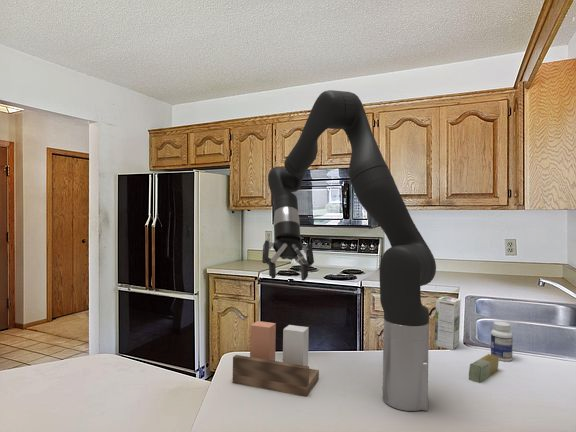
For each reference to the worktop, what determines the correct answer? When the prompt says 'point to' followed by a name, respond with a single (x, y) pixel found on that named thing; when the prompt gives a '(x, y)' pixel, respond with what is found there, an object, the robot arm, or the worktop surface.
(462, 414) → the worktop surface
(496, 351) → the pill bottle
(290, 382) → the console
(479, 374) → the medication box
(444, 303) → the syrup box
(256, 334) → the orange tall block
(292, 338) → the grey rectangular block
